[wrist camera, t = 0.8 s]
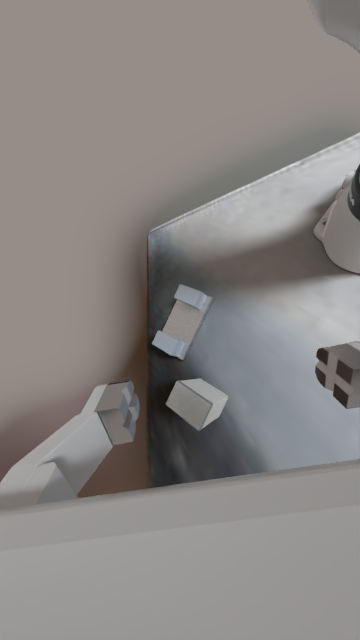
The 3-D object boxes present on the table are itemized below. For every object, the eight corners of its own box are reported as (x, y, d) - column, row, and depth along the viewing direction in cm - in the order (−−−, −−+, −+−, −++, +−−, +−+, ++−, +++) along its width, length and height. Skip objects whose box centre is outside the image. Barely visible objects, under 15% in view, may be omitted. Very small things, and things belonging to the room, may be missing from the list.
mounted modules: (186, 289, 49) (180, 283, 46) (207, 296, 45) (201, 291, 42) (160, 345, 49) (151, 343, 46) (178, 356, 46) (171, 355, 43)
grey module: (200, 378, 44) (176, 380, 34) (229, 396, 40) (211, 404, 30) (191, 396, 44) (165, 404, 34) (219, 416, 40) (198, 431, 30)
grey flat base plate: (185, 289, 50) (183, 286, 49) (214, 299, 46) (212, 297, 45) (159, 344, 51) (156, 344, 49) (185, 360, 46) (182, 359, 45)
